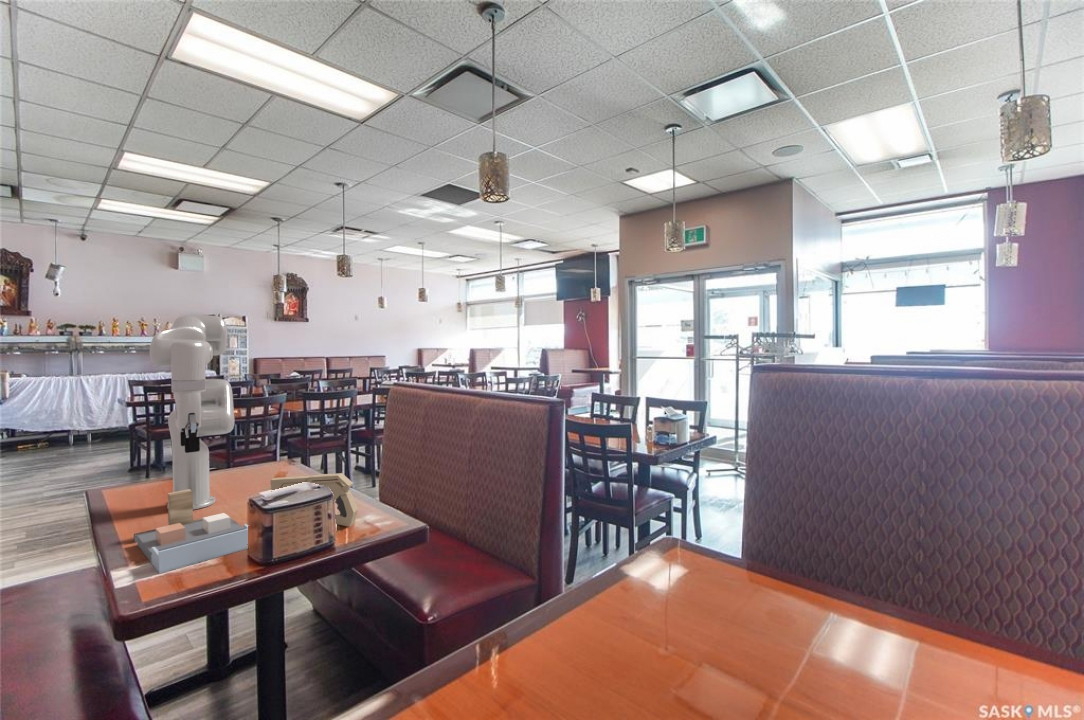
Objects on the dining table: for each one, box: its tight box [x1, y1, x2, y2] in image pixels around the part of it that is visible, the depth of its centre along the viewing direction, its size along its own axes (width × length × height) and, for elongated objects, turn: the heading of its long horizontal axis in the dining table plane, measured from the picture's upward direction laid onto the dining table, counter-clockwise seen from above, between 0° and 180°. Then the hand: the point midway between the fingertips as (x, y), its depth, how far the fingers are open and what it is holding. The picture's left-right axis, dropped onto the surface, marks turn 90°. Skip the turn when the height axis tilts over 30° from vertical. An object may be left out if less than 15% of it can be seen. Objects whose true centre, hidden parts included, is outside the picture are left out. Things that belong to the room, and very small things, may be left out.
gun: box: [270, 472, 359, 528], centre depth 141 cm, size 24×3×15 cm, turn 84°
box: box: [150, 523, 249, 574], centre depth 120 cm, size 8×20×5 cm, turn 139°
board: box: [137, 517, 244, 563], centre depth 128 cm, size 15×20×2 cm
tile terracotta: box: [155, 523, 185, 545], centre depth 122 cm, size 5×5×3 cm
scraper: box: [133, 489, 203, 544], centre depth 135 cm, size 3×20×11 cm, turn 139°
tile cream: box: [202, 512, 231, 534], centre depth 130 cm, size 5×5×3 cm
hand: (190, 448), depth 133 cm, fingers open, 9 cm apart
